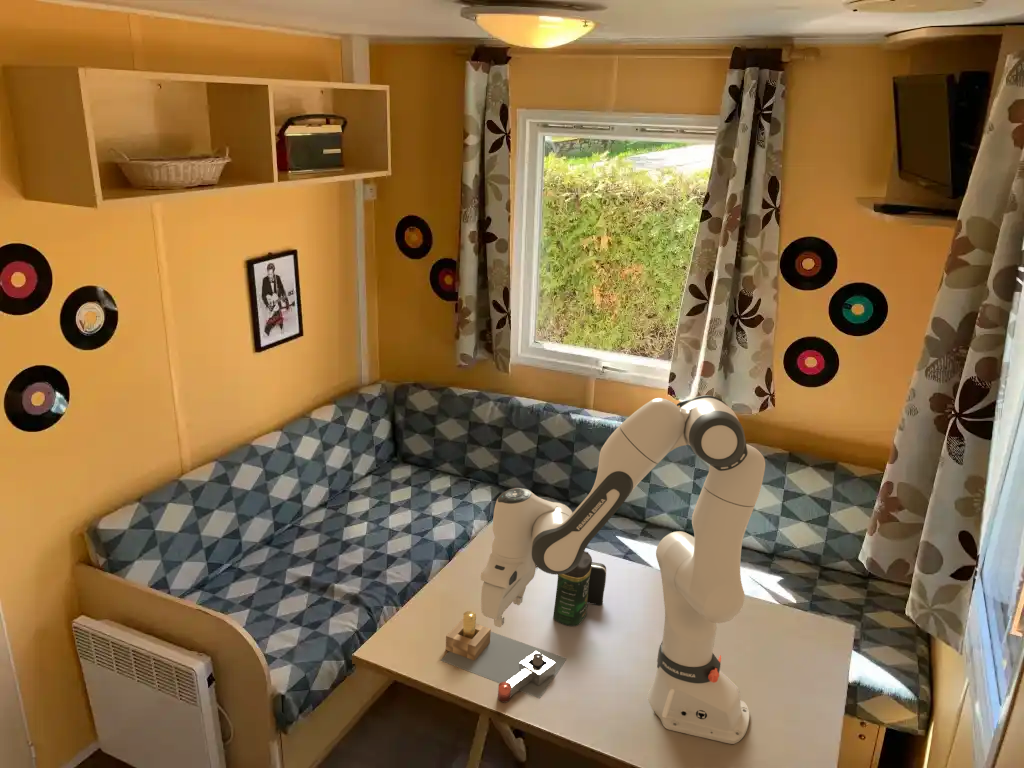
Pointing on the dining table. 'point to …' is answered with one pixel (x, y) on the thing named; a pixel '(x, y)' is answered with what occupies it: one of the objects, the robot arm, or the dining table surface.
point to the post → (537, 660)
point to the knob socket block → (526, 677)
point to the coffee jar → (573, 593)
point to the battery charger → (597, 583)
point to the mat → (504, 662)
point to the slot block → (468, 641)
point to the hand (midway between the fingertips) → (508, 613)
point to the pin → (469, 624)
